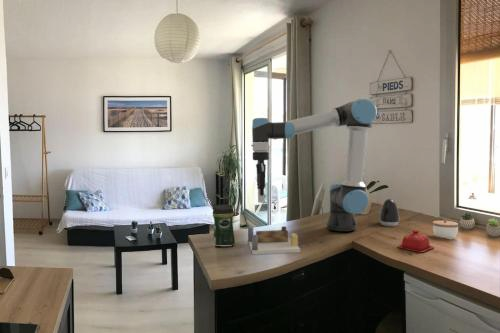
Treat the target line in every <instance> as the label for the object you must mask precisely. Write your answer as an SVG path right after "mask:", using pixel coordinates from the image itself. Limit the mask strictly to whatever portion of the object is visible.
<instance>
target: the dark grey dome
mask: <svg viewBox="0 0 500 333" xmlns="http://www.w3.org/2000/svg"><path fill="white" fill-rule="evenodd" d="M379 212H380V213H379V222H380V225H381V226H382V225H383V226H386V227H396V226H398V225H399V223H400V221H401V220H400V219H401V218H400V214H399V213H400V212H399V208H398V206H397V203H396V202H395V200H393V199H392V198H387V199H386V200H385V201H384V202H383V203H382V206H381V208H380V211H379Z"/></svg>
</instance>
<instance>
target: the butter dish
mask: <svg viewBox="0 0 500 333" xmlns="http://www.w3.org/2000/svg"><path fill="white" fill-rule="evenodd" d="M397 247H398V248H399V249H403V250H408V251H413V252H417V253H425V252H426V251H429V250H431V249H434V248H435V246H433V245H431V244H430V241H429V237H428V236H427V235H426V234H423V233H421V232H419V230H418V229H413V230H412V232H411V233H407V234H406V235H403V239H402V242H401V244H399V245H397Z"/></svg>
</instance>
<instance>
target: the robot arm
mask: <svg viewBox="0 0 500 333" xmlns="http://www.w3.org/2000/svg"><path fill="white" fill-rule="evenodd" d="M377 114H378V110H377V107H376V104H374V102H373V101H372V100H369V99H367V98H366V99H365V98H364V99H363V98H362V99H361V98H359V99H356V100H354V101H350V102H348V103H345V104H343V105H339V106H338V107H334V108H331V110H329V111H325V112H320V113H317V114H313V115H307V116H304V117H299V118H294V119H292V120H291V119H290V120H285V121H282V122H277V121H276V122H271V121H269V118H267V117H256V118H253V119H252V126H251V130H252V131H251V132H252V135H251V136H252V144H251V145H250V146H251V147H252V151H253V152H252V160H253V161H257V163H256V164H255V167H256V183H257V184H256V185H257V186H256V188H257V203H265V200H266V199H265V188H266V169H267V167H266V163H265V161H269V159H270V153H269V150H270V142H269V141H270V140H269V139H272V140H279V139H280V140H281V139H283V140H284V139H286V140H288V139H293V138H294V136H295V135H299V134H303V133H307V132H313V131H317V130H321V129H324V128H325V129H326V128H329V127H334V126H335V127H336V128H338V127H342V126H343V127H345V126H346V129H347V130H348V140H347V142H348V143H347V150H346V151H347V152H346V154H347V155H346V161H345V162H346V164H345V174H344V176H345V177H344V181H343V182H341V183H339V184H338V183H334V184H331V185H330V186H329V215H328V218H327V220H326V221H327V222H326V229H328V230H331V231H335V232H350V231H351V232H352V231H355V230H357V226H358V225H357V224H358V223H357V221H356V218H355V216H354V215H358V214H360V213H362V212H364V211H365V210H366V209H367V207H368V206H369V201H370V200H369V195H367V193H366V191H367V185H366V184H365V182H364V176H365V165H366V154H367V146H368V145H367V144H368V143H367V142H368V136H369V135H368V133H369V132H370V131H371V130H372V129H373V128H372V127H373V122H374V121H375V119H376V118H377Z"/></svg>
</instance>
